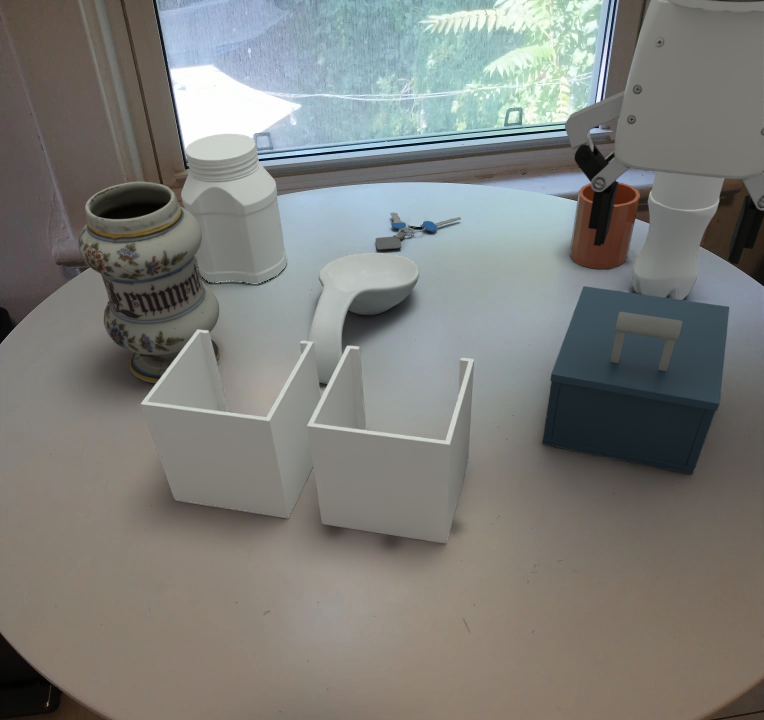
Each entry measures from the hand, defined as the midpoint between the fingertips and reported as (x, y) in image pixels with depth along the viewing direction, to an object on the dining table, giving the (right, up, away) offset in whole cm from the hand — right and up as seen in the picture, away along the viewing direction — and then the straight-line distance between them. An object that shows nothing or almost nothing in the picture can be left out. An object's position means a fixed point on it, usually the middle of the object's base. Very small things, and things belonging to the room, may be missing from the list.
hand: (665, 246), depth 55 cm
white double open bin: (-27, -17, +12) cm, 34 cm away
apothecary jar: (-45, -3, +27) cm, 52 cm away
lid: (+2, -5, +11) cm, 12 cm away
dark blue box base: (+3, -10, +17) cm, 20 cm away
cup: (+6, +13, +39) cm, 41 cm away
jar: (-40, +12, +41) cm, 58 cm away
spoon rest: (-24, +1, +30) cm, 38 cm away
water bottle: (+12, +6, +32) cm, 34 cm away
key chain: (-18, +19, +46) cm, 53 cm away
